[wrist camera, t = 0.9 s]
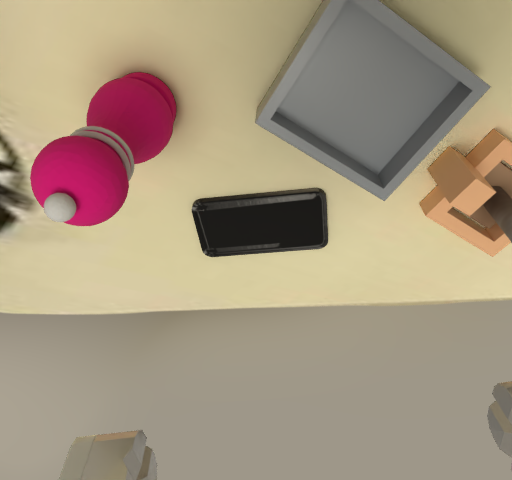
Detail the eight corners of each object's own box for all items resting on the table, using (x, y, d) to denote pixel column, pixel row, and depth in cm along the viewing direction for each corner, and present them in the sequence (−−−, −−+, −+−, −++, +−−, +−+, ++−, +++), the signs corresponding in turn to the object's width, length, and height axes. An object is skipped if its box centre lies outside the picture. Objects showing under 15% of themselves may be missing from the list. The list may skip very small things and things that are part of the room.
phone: (189, 203, 46) (326, 190, 44) (191, 197, 47) (325, 185, 45) (204, 258, 50) (328, 249, 48) (205, 252, 51) (327, 243, 49)
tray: (340, -28, 33) (346, -25, 30) (473, 74, 37) (490, 86, 34) (256, 109, 40) (254, 122, 37) (377, 183, 44) (384, 201, 41)
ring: (477, 116, 39) (510, 146, 34) (561, 178, 43) (604, 214, 37) (403, 193, 45) (421, 230, 39) (483, 243, 48) (510, 284, 42)
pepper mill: (196, 110, 40) (140, 223, 24) (148, 153, 43) (69, 280, 27) (140, 49, 37) (33, 131, 21) (92, 100, 40) (-34, 206, 24)
